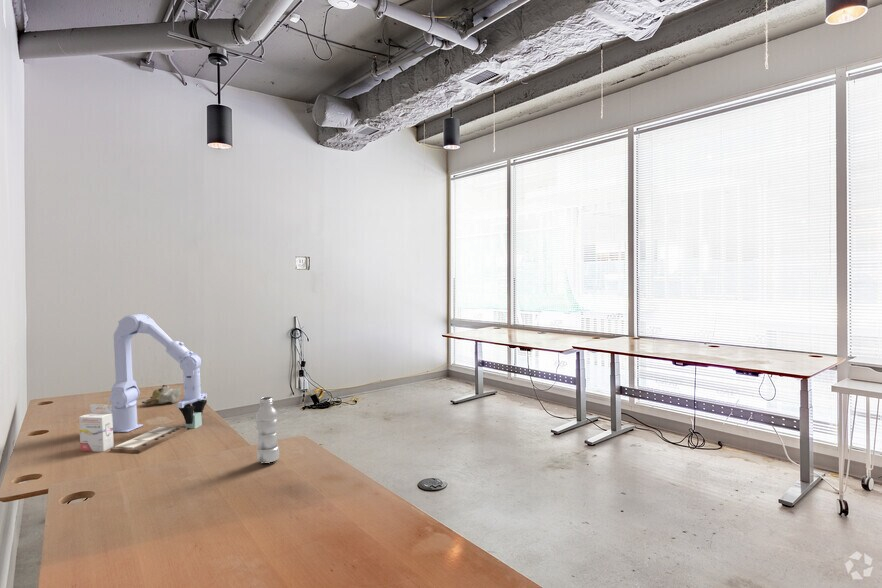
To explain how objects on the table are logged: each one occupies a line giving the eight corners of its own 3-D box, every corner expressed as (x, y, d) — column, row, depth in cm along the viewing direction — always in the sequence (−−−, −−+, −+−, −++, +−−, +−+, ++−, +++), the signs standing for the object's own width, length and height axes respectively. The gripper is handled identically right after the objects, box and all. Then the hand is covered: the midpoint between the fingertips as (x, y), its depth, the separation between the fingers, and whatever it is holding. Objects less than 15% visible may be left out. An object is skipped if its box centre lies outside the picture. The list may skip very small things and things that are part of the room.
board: (110, 451, 162) (110, 447, 162) (160, 429, 185) (160, 425, 185) (139, 453, 160) (139, 449, 160) (187, 430, 183) (186, 426, 183)
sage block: (185, 428, 186) (185, 415, 186) (192, 424, 190) (192, 412, 190) (195, 428, 185) (194, 415, 185) (201, 425, 189) (201, 412, 189)
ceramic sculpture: (175, 385, 217) (139, 389, 215) (177, 405, 218) (141, 409, 215) (184, 380, 228) (149, 384, 225) (186, 399, 228) (151, 402, 226)
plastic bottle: (284, 459, 153) (282, 396, 152) (268, 468, 147) (266, 402, 146) (268, 456, 156) (266, 394, 155) (252, 464, 150) (250, 400, 149)
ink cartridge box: (79, 451, 163) (77, 407, 162) (91, 446, 168) (89, 403, 167) (103, 452, 162) (101, 408, 161) (114, 446, 167) (112, 404, 166)
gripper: (188, 391, 179) (190, 427, 180) (213, 382, 193) (214, 416, 194) (171, 390, 180) (173, 427, 181) (197, 381, 194) (198, 415, 195)
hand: (193, 421), depth 188 cm, fingers open, 5 cm apart
